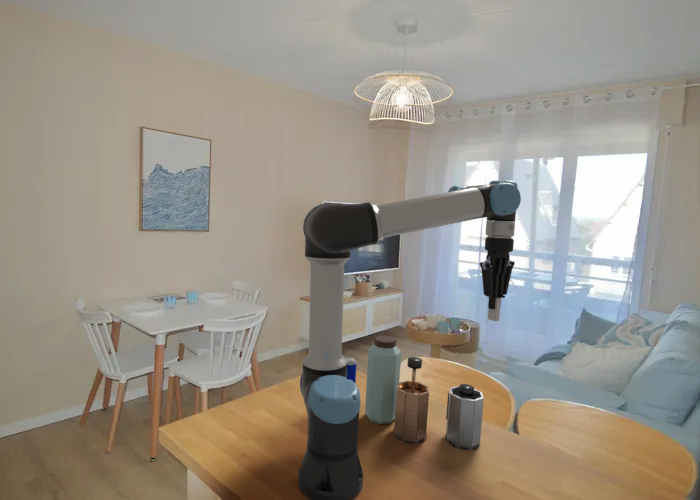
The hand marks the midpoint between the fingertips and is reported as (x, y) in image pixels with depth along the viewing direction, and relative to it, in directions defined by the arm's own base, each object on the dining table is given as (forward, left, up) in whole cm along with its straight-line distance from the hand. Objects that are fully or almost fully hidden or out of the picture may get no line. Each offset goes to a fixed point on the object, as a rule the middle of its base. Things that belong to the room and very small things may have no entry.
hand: (493, 319), depth 117 cm
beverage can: (-23, +37, -35) cm, 56 cm away
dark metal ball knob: (-7, +2, -30) cm, 30 cm away
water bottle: (-19, +24, -35) cm, 46 cm away
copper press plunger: (-18, +12, -23) cm, 32 cm away
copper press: (-18, +12, -35) cm, 41 cm away
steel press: (-7, +2, -35) cm, 35 cm away
